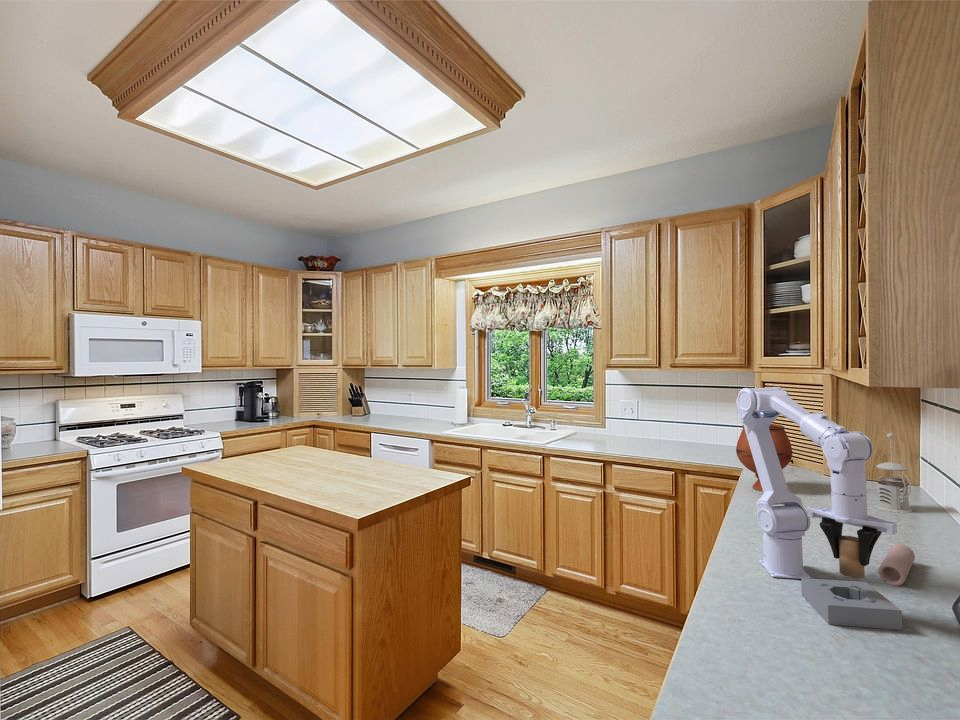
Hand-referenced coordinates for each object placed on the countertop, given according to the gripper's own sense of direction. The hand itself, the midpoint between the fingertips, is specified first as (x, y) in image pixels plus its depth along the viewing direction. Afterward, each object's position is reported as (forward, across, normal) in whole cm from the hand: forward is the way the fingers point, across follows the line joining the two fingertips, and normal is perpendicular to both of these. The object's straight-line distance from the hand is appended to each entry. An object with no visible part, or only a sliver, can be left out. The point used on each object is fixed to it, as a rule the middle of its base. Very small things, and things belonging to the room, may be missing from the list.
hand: (851, 560), depth 98 cm
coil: (+10, -1, +28) cm, 29 cm away
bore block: (+10, 0, -2) cm, 10 cm away
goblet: (+10, -58, +80) cm, 100 cm away
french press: (+10, -19, +86) cm, 89 cm away
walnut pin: (+3, 0, 0) cm, 3 cm away
